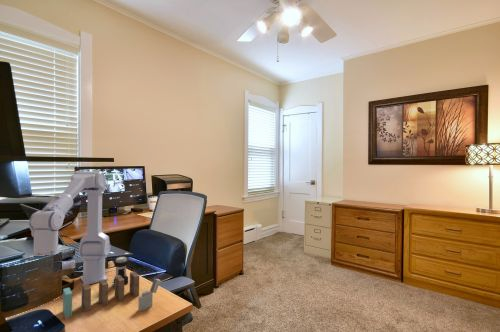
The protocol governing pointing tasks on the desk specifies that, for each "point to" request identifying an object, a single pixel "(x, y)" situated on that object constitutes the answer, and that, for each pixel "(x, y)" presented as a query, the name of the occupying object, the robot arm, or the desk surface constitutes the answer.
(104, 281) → the row domino
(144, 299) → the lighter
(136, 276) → the domino
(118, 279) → the row domino
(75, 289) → the desk surface
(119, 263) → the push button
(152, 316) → the desk surface
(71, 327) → the desk surface
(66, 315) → the domino
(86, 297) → the row domino
